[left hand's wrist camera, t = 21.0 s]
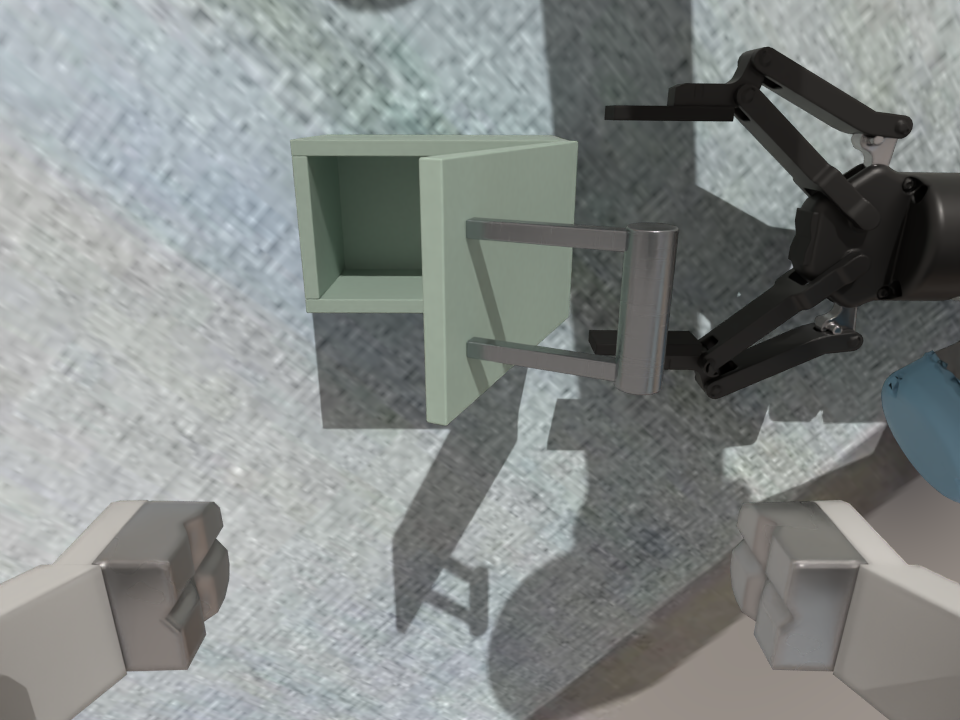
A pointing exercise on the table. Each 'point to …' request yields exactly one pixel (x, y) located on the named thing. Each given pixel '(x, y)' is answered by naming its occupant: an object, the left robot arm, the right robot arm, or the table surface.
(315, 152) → the chest
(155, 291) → the table surface
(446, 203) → the lid
